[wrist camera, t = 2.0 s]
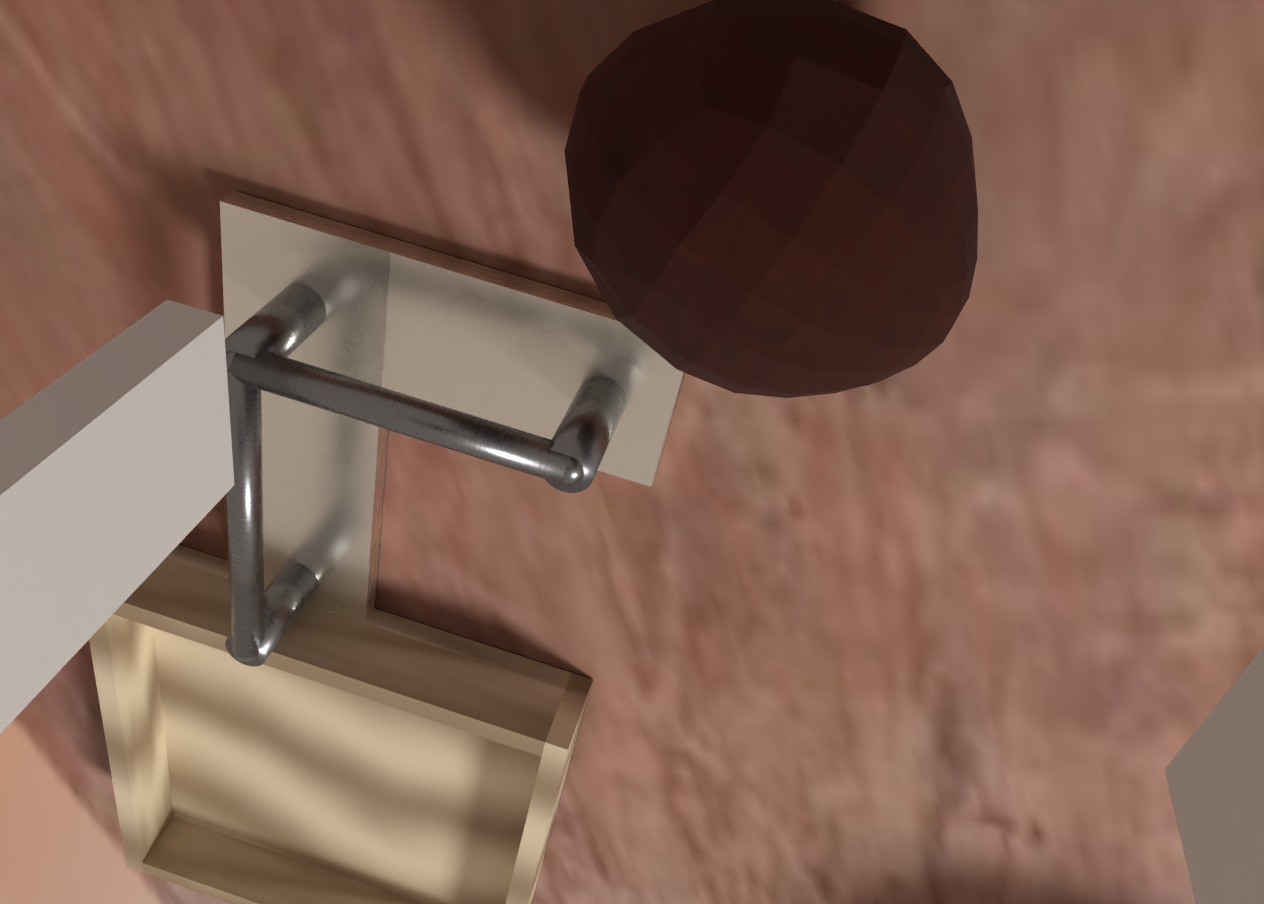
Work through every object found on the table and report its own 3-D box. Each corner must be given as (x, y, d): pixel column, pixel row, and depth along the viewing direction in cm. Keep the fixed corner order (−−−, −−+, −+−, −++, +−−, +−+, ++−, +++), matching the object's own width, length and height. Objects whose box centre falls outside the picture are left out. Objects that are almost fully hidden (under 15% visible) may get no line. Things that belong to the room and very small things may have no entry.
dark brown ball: (848, 366, 27) (827, 545, 21) (552, 174, 26) (439, 303, 20) (1069, 110, 23) (1125, 245, 17) (720, -136, 22) (639, -90, 15)
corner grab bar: (235, 191, 29) (131, 257, 25) (696, 329, 28) (661, 420, 24) (247, 591, 38) (173, 683, 34) (591, 704, 37) (554, 812, 33)
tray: (137, 530, 38) (80, 588, 35) (592, 679, 36) (567, 749, 34) (169, 807, 48) (126, 866, 45) (524, 929, 47) (501, 997, 44)
